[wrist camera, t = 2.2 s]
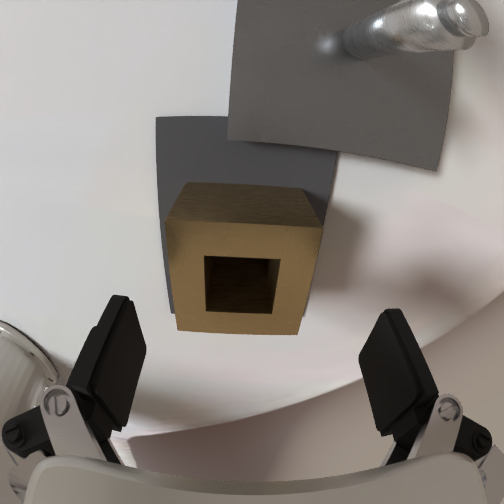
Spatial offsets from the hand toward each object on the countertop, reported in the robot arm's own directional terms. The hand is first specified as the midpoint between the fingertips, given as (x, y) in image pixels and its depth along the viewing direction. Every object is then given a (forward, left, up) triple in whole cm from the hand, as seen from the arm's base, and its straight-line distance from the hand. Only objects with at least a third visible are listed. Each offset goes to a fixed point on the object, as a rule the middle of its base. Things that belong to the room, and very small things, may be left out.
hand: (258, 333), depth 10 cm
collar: (0, +1, -8) cm, 8 cm away
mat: (0, +1, -9) cm, 9 cm away
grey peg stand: (+12, -4, -9) cm, 15 cm away
